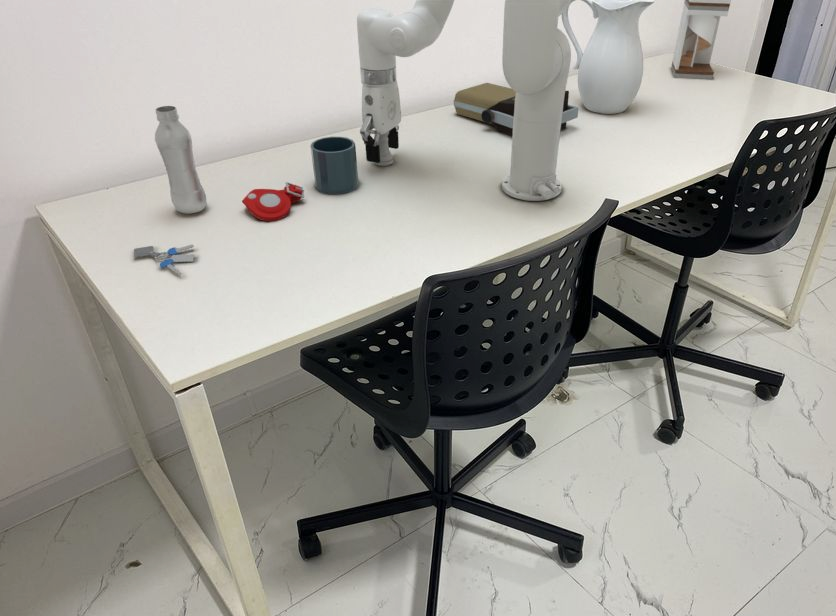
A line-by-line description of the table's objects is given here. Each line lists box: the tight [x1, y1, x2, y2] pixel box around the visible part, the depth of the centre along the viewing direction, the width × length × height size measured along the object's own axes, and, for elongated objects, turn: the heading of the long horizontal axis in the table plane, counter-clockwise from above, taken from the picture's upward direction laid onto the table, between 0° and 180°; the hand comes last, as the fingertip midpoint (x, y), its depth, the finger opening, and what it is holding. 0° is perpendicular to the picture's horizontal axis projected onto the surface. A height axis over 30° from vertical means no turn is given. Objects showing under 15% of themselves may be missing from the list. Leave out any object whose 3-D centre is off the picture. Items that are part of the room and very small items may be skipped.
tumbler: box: [309, 136, 359, 195], centre depth 140 cm, size 9×9×9 cm
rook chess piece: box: [374, 131, 394, 167], centre depth 150 cm, size 4×4×8 cm
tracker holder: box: [241, 181, 305, 222], centre depth 132 cm, size 12×4×10 cm
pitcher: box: [561, 0, 655, 115], centre depth 177 cm, size 24×17×28 cm
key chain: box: [133, 244, 195, 276], centre depth 118 cm, size 14×8×1 cm, turn 58°
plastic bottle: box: [154, 105, 207, 215], centre depth 126 cm, size 6×7×20 cm
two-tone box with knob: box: [453, 82, 580, 136], centre depth 171 cm, size 19×11×30 cm
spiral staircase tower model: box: [670, 0, 732, 80], centre depth 200 cm, size 11×11×35 cm
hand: (383, 154), depth 151 cm, fingers open, 8 cm apart
